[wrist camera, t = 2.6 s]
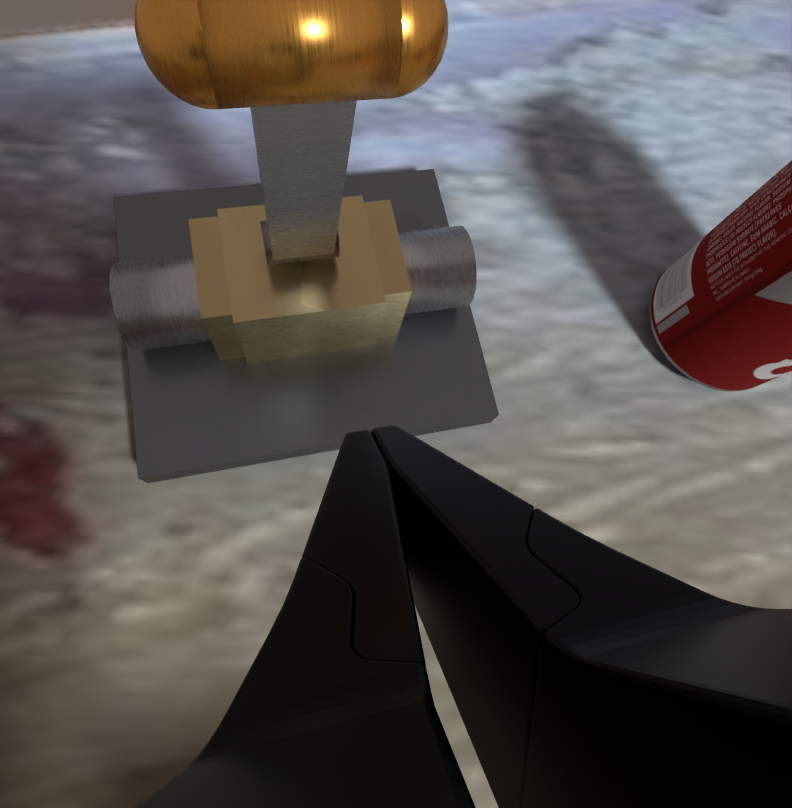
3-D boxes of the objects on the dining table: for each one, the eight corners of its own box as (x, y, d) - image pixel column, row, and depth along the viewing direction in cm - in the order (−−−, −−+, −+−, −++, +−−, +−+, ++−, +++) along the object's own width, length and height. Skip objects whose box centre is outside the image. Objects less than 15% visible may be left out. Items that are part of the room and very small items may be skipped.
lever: (382, 269, 20) (474, 36, 9) (225, 288, 19) (126, 52, 8) (371, 209, 20) (449, -84, 9) (214, 225, 19) (106, -84, 8)
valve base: (490, 422, 24) (532, 385, 19) (147, 482, 22) (99, 457, 17) (428, 186, 27) (452, 104, 22) (122, 214, 25) (76, 129, 20)
